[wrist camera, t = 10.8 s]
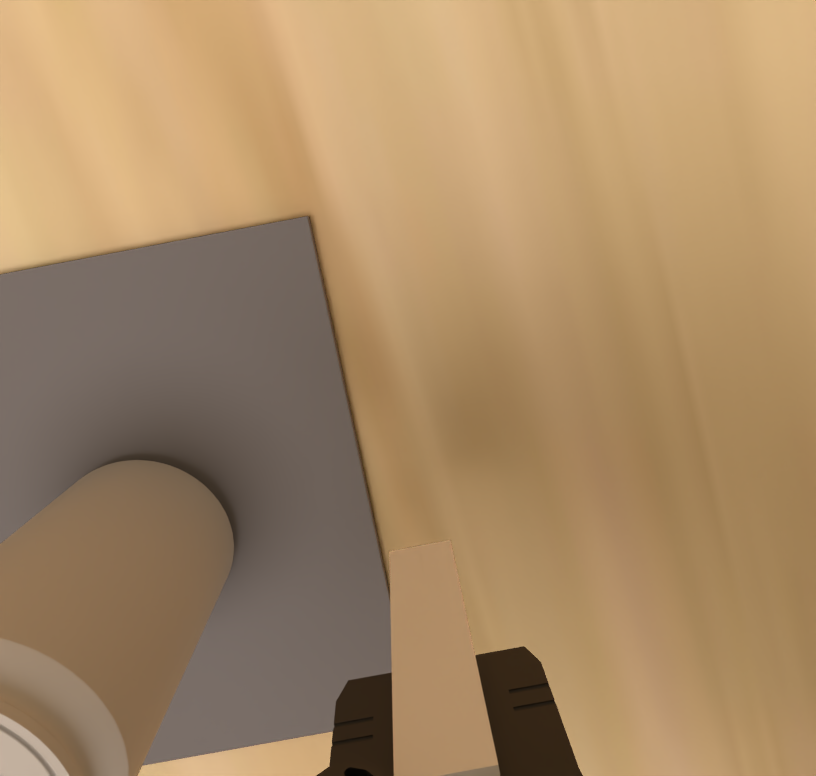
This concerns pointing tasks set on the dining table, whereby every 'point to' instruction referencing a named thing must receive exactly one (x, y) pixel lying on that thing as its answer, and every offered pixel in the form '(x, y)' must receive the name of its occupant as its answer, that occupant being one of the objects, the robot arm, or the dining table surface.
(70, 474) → the mount
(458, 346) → the dining table surface
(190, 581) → the beverage can
